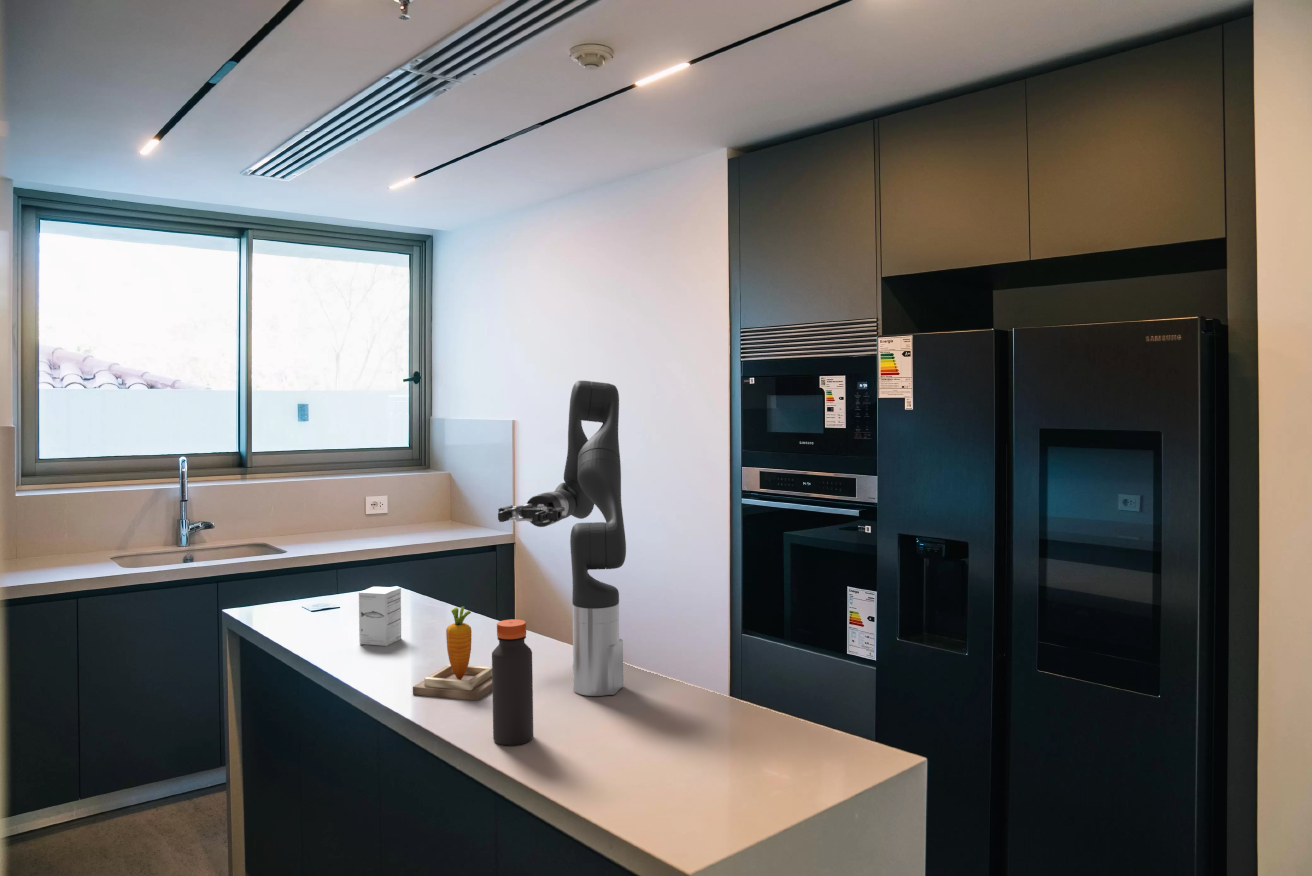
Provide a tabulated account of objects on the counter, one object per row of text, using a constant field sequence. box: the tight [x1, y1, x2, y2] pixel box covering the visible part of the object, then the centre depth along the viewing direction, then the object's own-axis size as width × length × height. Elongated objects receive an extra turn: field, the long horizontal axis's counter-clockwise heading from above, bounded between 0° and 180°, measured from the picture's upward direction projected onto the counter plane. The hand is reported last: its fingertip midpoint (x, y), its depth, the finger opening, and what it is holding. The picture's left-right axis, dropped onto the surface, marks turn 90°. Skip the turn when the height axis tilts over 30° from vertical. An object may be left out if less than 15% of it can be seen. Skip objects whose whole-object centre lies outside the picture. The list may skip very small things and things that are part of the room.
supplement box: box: [358, 586, 402, 647], centre depth 214 cm, size 7×7×13 cm
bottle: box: [491, 618, 534, 747], centre depth 152 cm, size 7×7×20 cm
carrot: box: [445, 605, 472, 680], centre depth 180 cm, size 5×5×15 cm
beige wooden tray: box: [412, 663, 492, 701], centre depth 180 cm, size 14×12×3 cm
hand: (518, 517), depth 195 cm, fingers open, 8 cm apart
